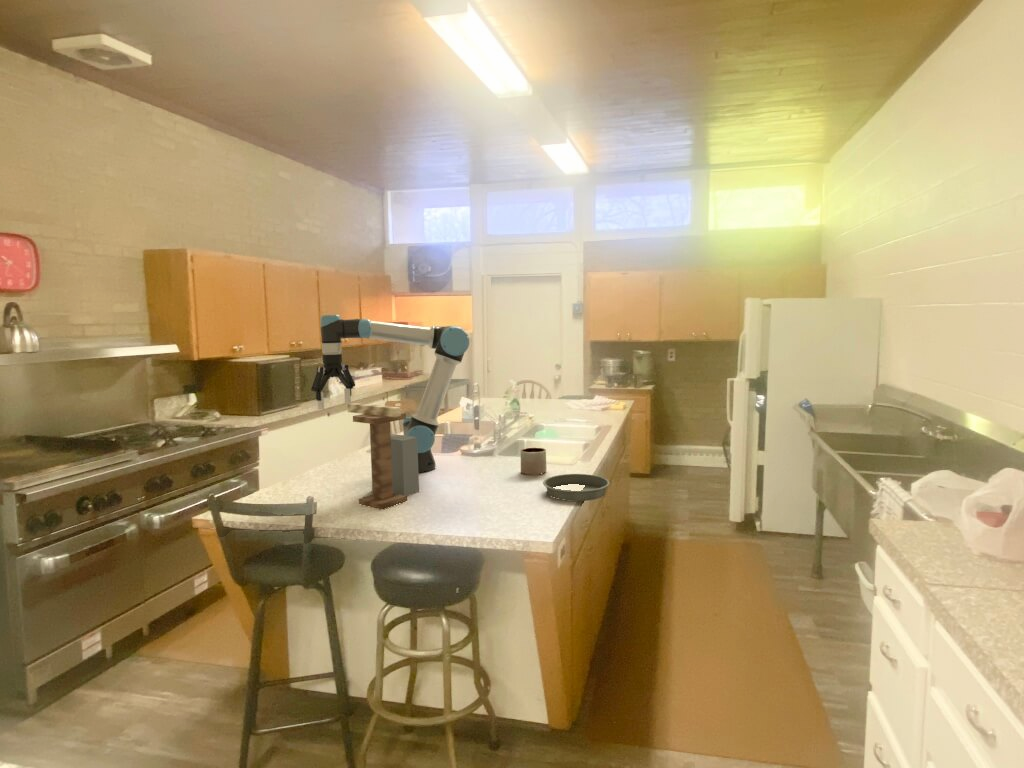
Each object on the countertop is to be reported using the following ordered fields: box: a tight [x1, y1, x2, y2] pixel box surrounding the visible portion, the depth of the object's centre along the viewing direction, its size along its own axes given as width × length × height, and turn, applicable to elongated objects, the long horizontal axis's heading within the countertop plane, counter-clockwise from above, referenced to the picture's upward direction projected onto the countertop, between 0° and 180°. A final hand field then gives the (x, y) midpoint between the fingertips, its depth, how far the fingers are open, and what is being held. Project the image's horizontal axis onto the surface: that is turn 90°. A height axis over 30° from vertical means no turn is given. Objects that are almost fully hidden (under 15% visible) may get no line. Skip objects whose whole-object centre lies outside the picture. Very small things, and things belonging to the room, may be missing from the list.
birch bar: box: [347, 402, 402, 417], centre depth 235 cm, size 24×3×3 cm, turn 54°
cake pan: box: [542, 473, 611, 502], centre depth 245 cm, size 25×25×4 cm
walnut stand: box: [352, 412, 408, 510], centre depth 235 cm, size 12×14×32 cm
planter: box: [520, 446, 547, 475], centre depth 278 cm, size 11×11×10 cm
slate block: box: [369, 433, 420, 496], centre depth 251 cm, size 17×8×21 cm, turn 54°
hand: (334, 406), depth 265 cm, fingers open, 13 cm apart
